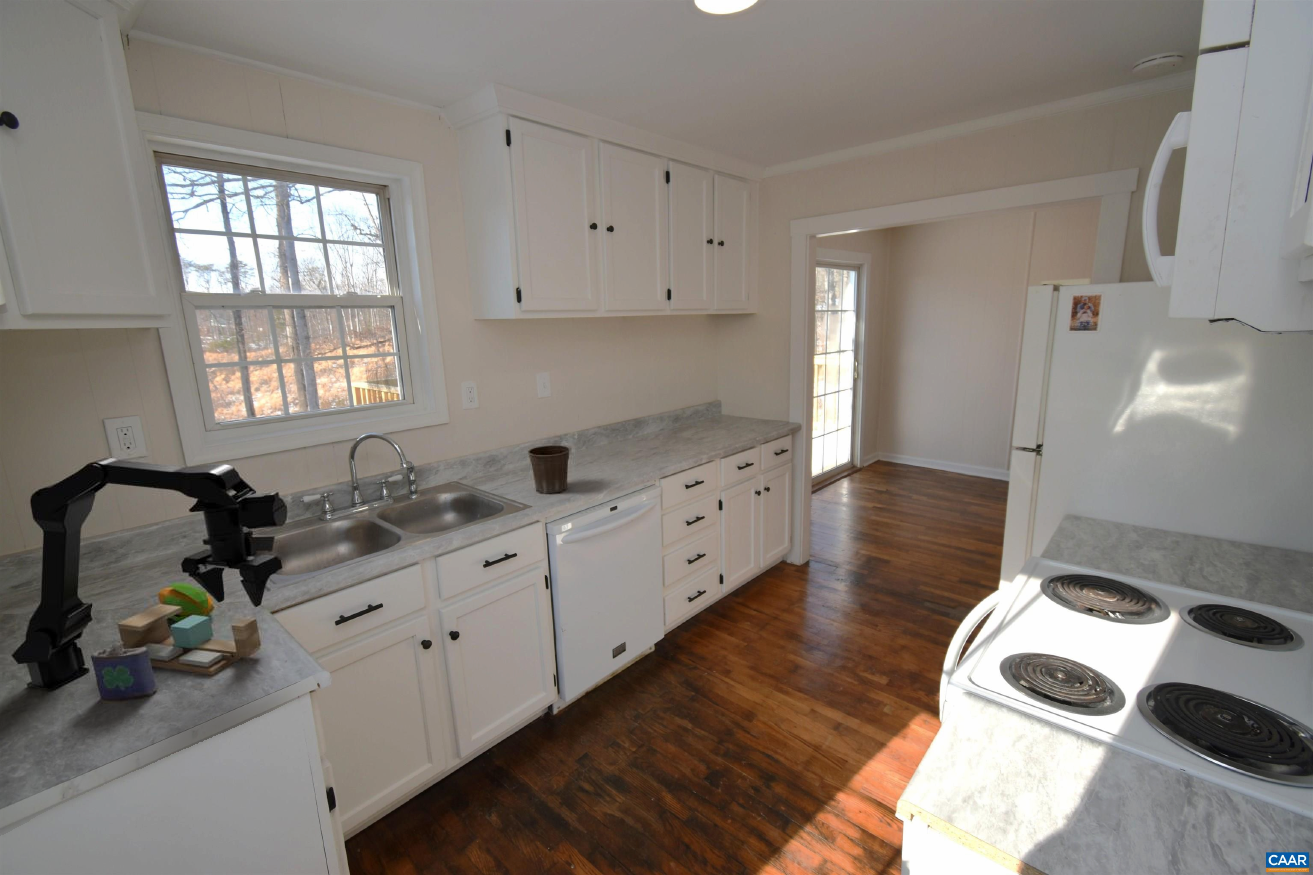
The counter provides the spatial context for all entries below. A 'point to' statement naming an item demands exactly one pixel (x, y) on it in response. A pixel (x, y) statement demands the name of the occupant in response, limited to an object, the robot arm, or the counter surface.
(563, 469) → the plant pot
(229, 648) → the strip
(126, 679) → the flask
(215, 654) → the strip
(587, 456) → the counter surface
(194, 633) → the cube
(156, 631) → the board
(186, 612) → the corn
